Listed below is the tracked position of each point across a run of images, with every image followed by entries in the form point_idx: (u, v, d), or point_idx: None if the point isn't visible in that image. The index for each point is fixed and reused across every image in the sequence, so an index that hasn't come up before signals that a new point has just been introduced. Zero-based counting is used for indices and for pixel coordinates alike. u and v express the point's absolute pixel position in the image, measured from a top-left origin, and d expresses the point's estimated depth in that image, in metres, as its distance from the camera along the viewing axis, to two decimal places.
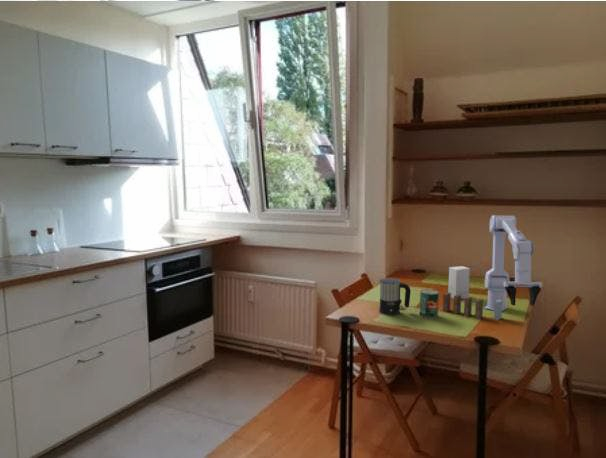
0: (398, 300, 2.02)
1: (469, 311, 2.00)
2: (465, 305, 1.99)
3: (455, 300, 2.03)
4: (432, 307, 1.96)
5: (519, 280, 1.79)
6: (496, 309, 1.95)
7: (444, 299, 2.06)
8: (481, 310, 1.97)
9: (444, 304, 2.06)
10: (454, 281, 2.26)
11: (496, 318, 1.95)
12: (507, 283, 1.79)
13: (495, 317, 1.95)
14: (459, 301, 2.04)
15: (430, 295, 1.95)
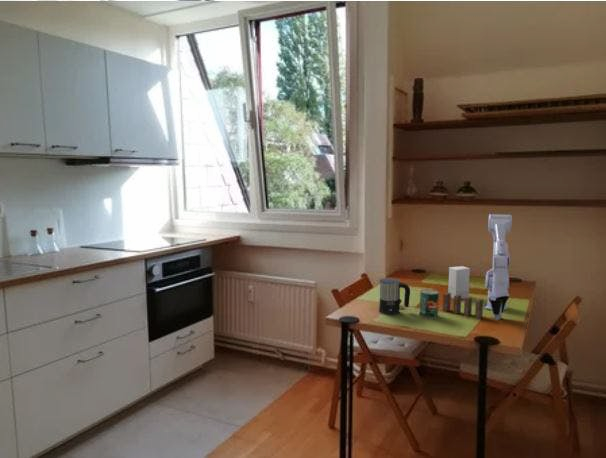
0: (398, 300, 2.03)
1: (469, 311, 2.00)
2: (465, 305, 1.99)
3: (455, 300, 2.03)
4: (432, 307, 1.96)
5: (501, 292, 1.92)
6: None
7: (444, 299, 2.06)
8: (481, 310, 1.97)
9: (444, 304, 2.06)
10: (454, 281, 2.26)
11: (496, 318, 1.95)
12: (495, 297, 1.90)
13: (495, 317, 1.95)
14: (459, 301, 2.04)
15: (430, 295, 1.95)
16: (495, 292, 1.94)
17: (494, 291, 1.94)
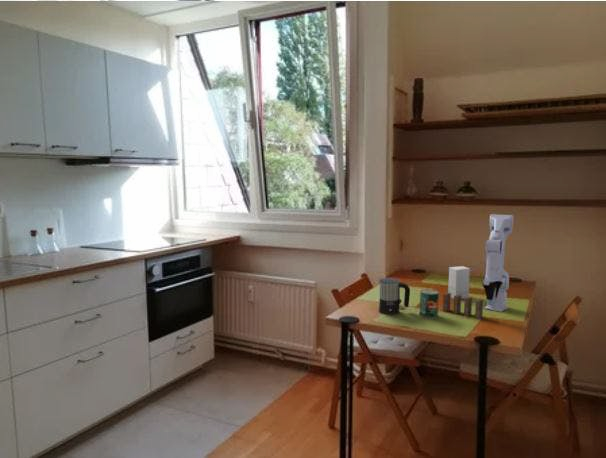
0: (397, 300, 2.03)
1: (469, 311, 2.00)
2: (465, 305, 1.99)
3: (455, 300, 2.03)
4: (432, 307, 1.96)
5: (495, 277, 1.89)
6: None
7: (444, 299, 2.06)
8: (481, 310, 1.97)
9: (444, 304, 2.06)
10: (454, 281, 2.26)
11: (490, 304, 1.92)
12: (489, 282, 1.87)
13: (489, 303, 1.92)
14: (459, 301, 2.04)
15: (430, 295, 1.95)
16: (489, 277, 1.91)
17: (488, 276, 1.91)
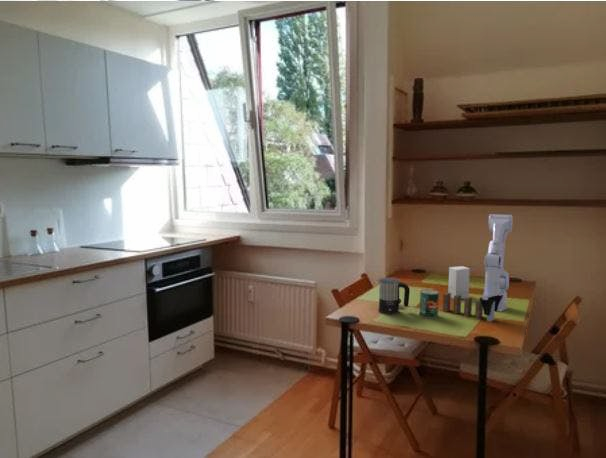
0: (397, 300, 2.03)
1: (469, 311, 2.00)
2: (465, 305, 1.99)
3: (455, 300, 2.03)
4: (432, 307, 1.96)
5: (494, 292, 1.90)
6: None
7: (444, 299, 2.06)
8: (481, 310, 1.97)
9: (444, 304, 2.06)
10: (454, 281, 2.26)
11: (489, 320, 1.93)
12: (487, 296, 1.88)
13: (488, 319, 1.93)
14: (459, 301, 2.04)
15: (430, 295, 1.95)
16: (487, 291, 1.91)
17: (486, 290, 1.92)
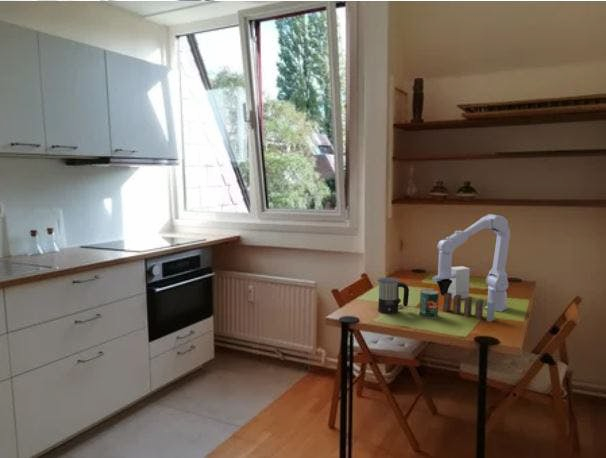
0: (396, 299, 2.04)
1: (469, 311, 2.00)
2: (465, 305, 1.99)
3: (455, 300, 2.03)
4: (432, 307, 1.96)
5: (444, 275, 2.05)
6: (489, 310, 1.92)
7: (445, 299, 2.06)
8: (481, 310, 1.97)
9: (444, 304, 2.06)
10: (454, 281, 2.26)
11: (489, 320, 1.93)
12: (436, 279, 2.03)
13: (488, 319, 1.93)
14: (459, 301, 2.04)
15: (430, 295, 1.95)
16: (439, 275, 2.06)
17: (438, 274, 2.07)
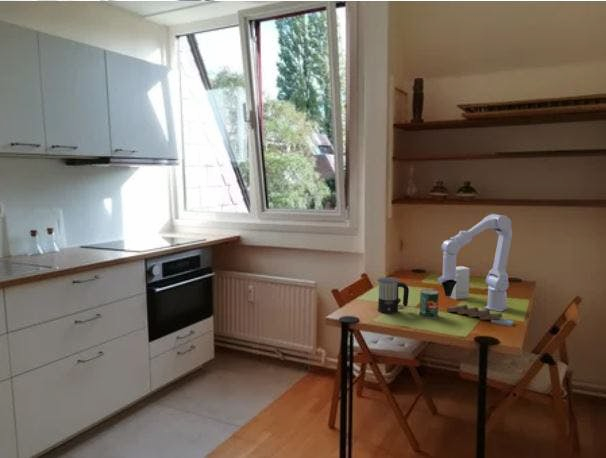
0: (396, 299, 2.04)
1: None
2: (478, 313, 1.96)
3: (470, 311, 1.98)
4: (432, 307, 1.96)
5: (449, 276, 2.03)
6: (502, 323, 1.89)
7: (458, 308, 2.02)
8: None
9: (453, 309, 2.04)
10: None
11: (492, 321, 1.92)
12: (442, 280, 2.01)
13: (493, 321, 1.92)
14: None
15: (430, 295, 1.95)
16: (444, 275, 2.05)
17: (443, 274, 2.05)
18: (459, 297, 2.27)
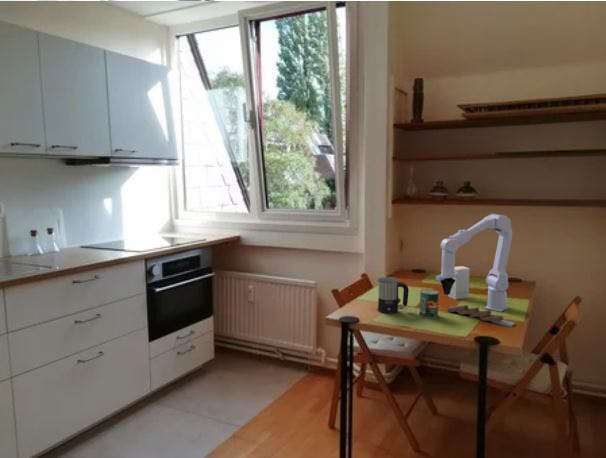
0: (396, 299, 2.04)
1: None
2: (479, 313, 1.95)
3: (470, 311, 1.98)
4: (432, 307, 1.96)
5: (448, 274, 2.04)
6: (502, 324, 1.89)
7: (459, 308, 2.02)
8: None
9: (454, 309, 2.03)
10: None
11: (492, 322, 1.91)
12: (440, 278, 2.02)
13: (493, 322, 1.91)
14: None
15: (430, 295, 1.95)
16: (442, 274, 2.06)
17: (442, 273, 2.06)
18: (459, 297, 2.27)
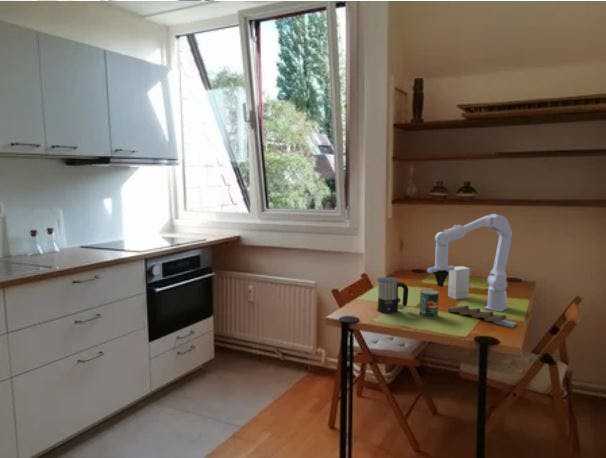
0: (396, 299, 2.04)
1: None
2: (481, 314, 1.94)
3: (472, 312, 1.97)
4: (432, 307, 1.96)
5: (440, 266, 2.09)
6: (503, 324, 1.88)
7: (459, 308, 2.01)
8: None
9: (454, 309, 2.03)
10: (454, 281, 2.26)
11: (494, 322, 1.91)
12: (431, 270, 2.08)
13: (495, 322, 1.91)
14: None
15: (430, 295, 1.95)
16: (435, 266, 2.11)
17: (435, 265, 2.11)
18: (459, 297, 2.27)
